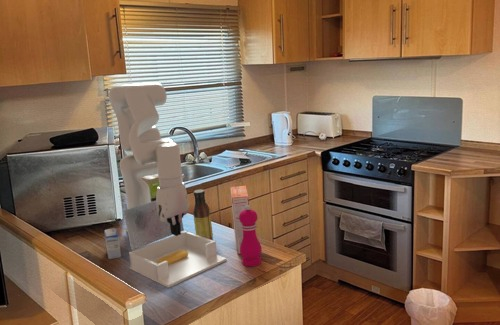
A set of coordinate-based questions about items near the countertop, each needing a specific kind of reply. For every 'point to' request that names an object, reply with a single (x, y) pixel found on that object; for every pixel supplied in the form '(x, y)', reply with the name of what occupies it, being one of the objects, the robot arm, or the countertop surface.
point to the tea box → (152, 185)
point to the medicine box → (112, 243)
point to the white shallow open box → (168, 275)
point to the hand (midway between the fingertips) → (176, 234)
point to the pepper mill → (249, 238)
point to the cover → (145, 225)
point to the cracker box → (238, 211)
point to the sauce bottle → (202, 216)
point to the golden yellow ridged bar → (174, 257)
